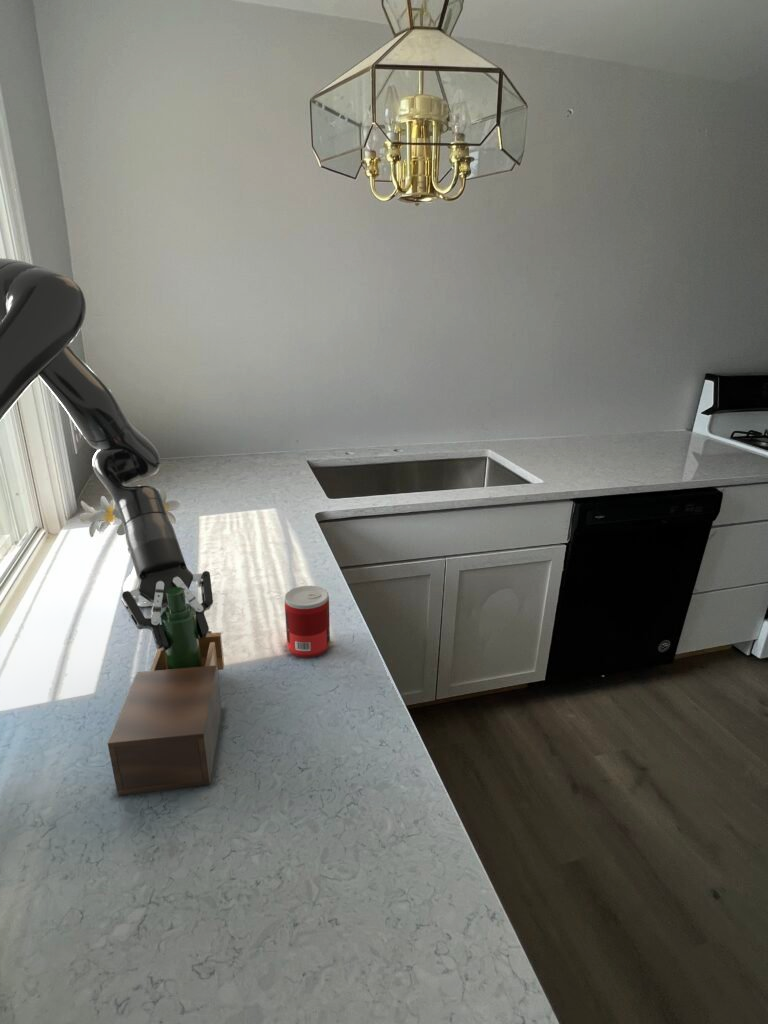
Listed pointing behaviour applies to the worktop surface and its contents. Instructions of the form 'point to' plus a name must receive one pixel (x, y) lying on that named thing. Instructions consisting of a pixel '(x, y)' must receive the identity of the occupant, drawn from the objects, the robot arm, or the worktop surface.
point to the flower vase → (121, 530)
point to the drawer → (209, 653)
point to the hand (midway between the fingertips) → (185, 642)
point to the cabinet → (167, 730)
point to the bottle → (181, 631)
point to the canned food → (307, 621)
